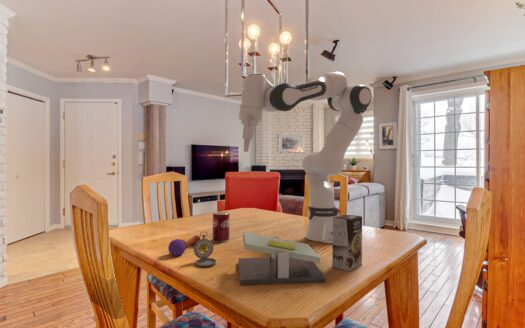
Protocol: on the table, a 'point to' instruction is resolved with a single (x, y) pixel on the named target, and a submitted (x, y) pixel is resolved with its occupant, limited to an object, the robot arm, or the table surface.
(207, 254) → the pocket watch
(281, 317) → the table surface
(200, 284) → the table surface
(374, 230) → the table surface
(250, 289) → the table surface
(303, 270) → the levelling stand
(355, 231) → the coffee box
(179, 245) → the kendama
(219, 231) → the soda can
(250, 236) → the tilting platform
